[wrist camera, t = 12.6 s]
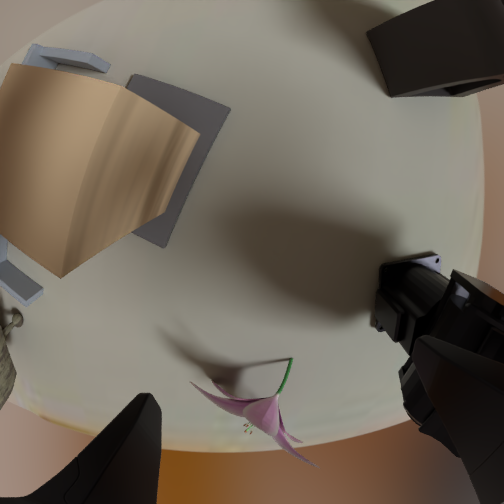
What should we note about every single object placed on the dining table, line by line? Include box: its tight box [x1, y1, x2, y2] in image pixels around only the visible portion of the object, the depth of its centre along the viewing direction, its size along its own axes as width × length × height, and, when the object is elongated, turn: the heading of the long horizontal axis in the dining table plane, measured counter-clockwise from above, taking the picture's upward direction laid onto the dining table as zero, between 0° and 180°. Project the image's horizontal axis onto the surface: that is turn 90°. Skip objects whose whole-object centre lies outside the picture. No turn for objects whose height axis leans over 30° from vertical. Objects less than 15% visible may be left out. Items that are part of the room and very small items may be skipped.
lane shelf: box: [0, 44, 111, 307], centre depth 16 cm, size 7×22×4 cm, turn 153°
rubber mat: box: [127, 74, 231, 248], centre depth 17 cm, size 8×11×1 cm
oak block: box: [0, 63, 200, 279], centre depth 11 cm, size 6×6×12 cm
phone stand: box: [366, 0, 504, 98], centre depth 9 cm, size 9×6×12 cm, turn 105°
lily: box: [191, 358, 319, 468], centre depth 20 cm, size 12×12×10 cm
